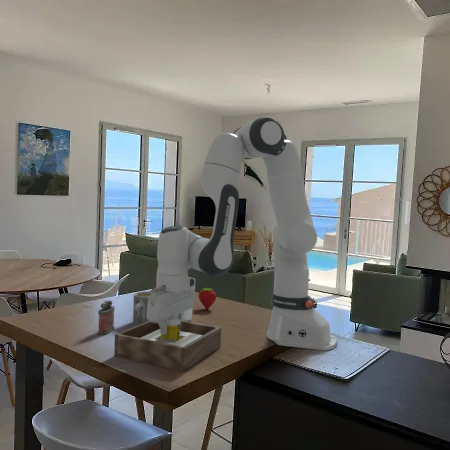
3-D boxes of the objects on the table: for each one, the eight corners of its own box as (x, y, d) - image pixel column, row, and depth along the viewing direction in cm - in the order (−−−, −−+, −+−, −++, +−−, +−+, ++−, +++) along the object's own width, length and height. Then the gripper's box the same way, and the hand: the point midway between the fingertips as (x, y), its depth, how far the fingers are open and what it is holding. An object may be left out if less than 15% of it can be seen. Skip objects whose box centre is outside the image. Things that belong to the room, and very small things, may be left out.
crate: (220, 347, 136) (221, 327, 135) (183, 371, 116) (184, 348, 115) (158, 335, 145) (159, 316, 144) (114, 355, 125) (114, 334, 124)
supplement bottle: (179, 348, 128) (181, 314, 127) (160, 348, 127) (162, 314, 126) (178, 341, 133) (180, 309, 132) (160, 341, 132) (161, 309, 132)
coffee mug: (145, 317, 165) (146, 290, 164) (167, 322, 160) (168, 294, 159) (119, 325, 153) (120, 296, 153) (142, 331, 148) (143, 301, 148)
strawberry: (211, 312, 176) (212, 286, 175) (194, 309, 179) (195, 284, 179) (218, 309, 181) (219, 284, 180) (203, 306, 184) (203, 282, 184)
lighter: (107, 327, 150) (107, 298, 150) (116, 328, 150) (117, 299, 149) (95, 335, 142) (95, 303, 142) (105, 336, 142) (105, 304, 141)
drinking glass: (192, 322, 160) (194, 280, 159) (173, 321, 160) (175, 279, 159) (194, 317, 167) (195, 277, 166) (176, 316, 167) (177, 276, 166)
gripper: (161, 290, 118) (160, 342, 119) (198, 278, 137) (197, 323, 138) (141, 287, 121) (140, 338, 122) (180, 276, 139) (179, 320, 140)
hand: (170, 330), depth 130 cm, fingers closed on supplement bottle, 5 cm apart
